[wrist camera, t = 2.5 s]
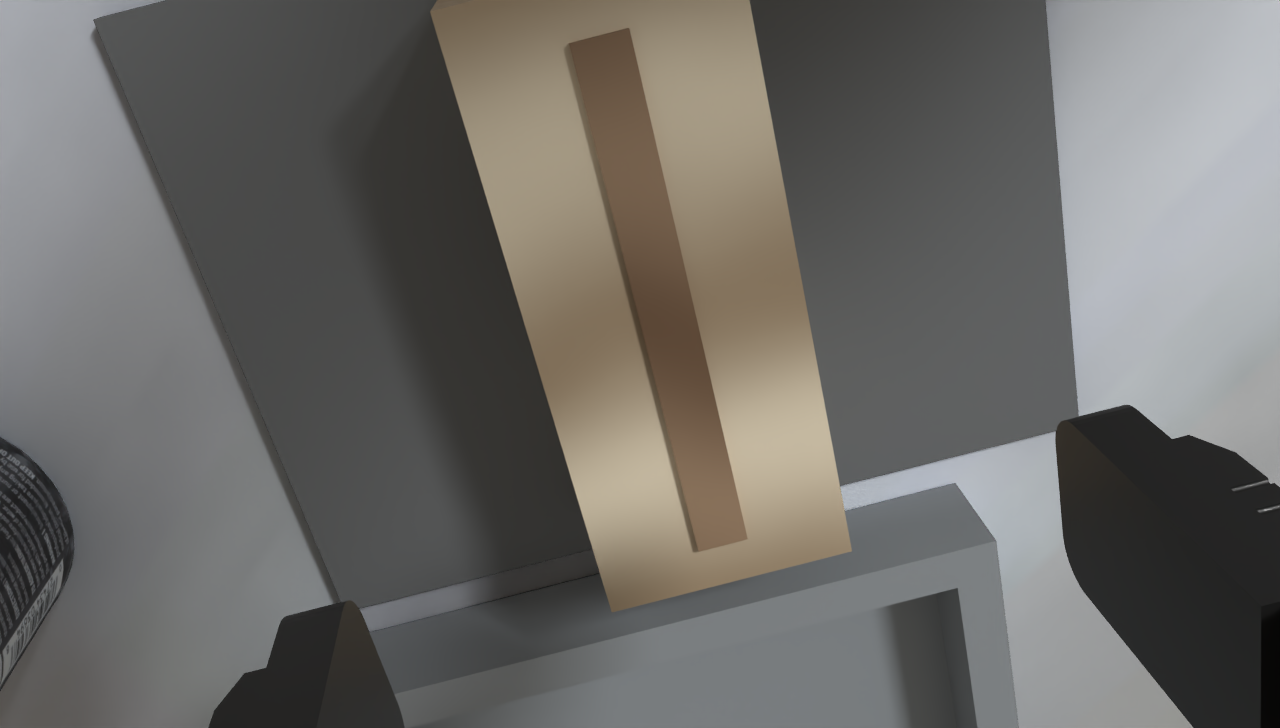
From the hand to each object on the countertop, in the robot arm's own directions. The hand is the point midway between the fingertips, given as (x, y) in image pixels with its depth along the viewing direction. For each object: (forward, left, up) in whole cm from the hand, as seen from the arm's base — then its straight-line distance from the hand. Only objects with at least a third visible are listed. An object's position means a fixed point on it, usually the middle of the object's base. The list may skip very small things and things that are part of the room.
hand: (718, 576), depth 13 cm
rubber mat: (0, 0, -13) cm, 13 cm away
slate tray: (+2, +14, -13) cm, 19 cm away
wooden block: (0, 0, -12) cm, 12 cm away
